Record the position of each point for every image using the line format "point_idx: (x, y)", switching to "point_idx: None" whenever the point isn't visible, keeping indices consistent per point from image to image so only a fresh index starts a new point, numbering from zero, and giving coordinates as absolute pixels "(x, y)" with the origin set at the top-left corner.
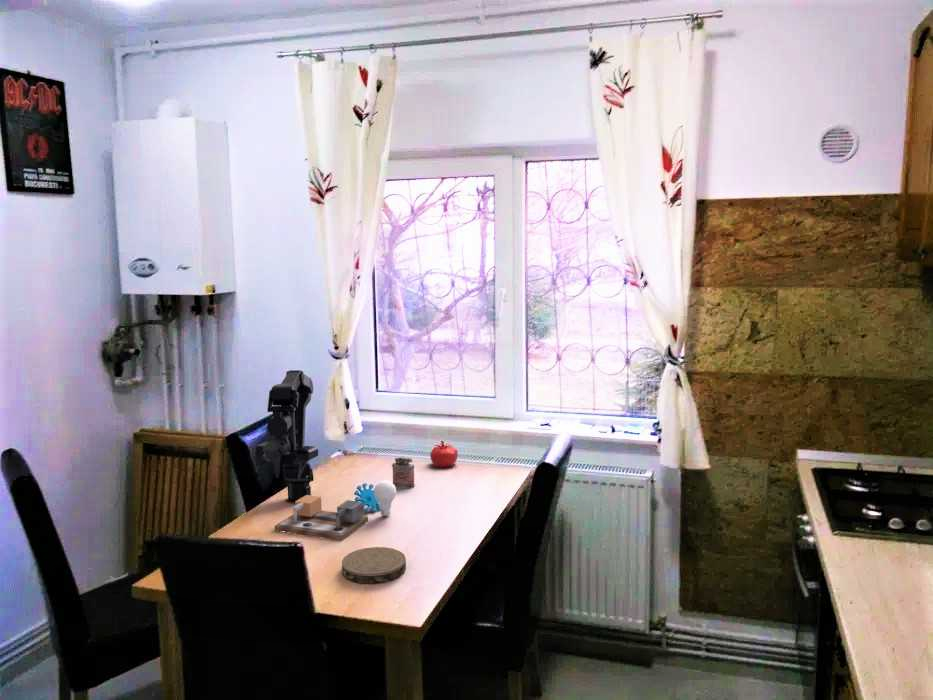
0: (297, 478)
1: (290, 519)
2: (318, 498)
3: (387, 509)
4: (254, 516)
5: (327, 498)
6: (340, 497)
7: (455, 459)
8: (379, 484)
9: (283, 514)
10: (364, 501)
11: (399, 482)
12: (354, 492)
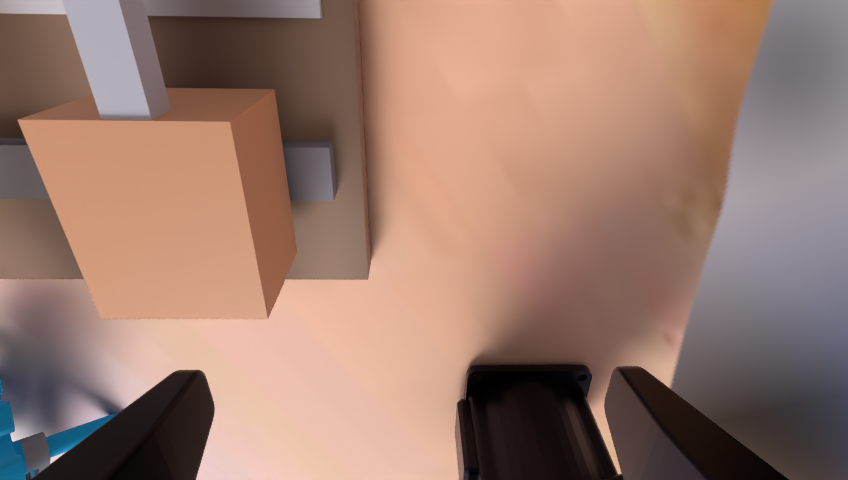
0: (145, 396)
1: (288, 16)
2: (85, 280)
3: None
4: (693, 95)
5: (380, 452)
6: (324, 475)
7: None
8: None
9: (491, 196)
10: None
11: None
12: (19, 473)
